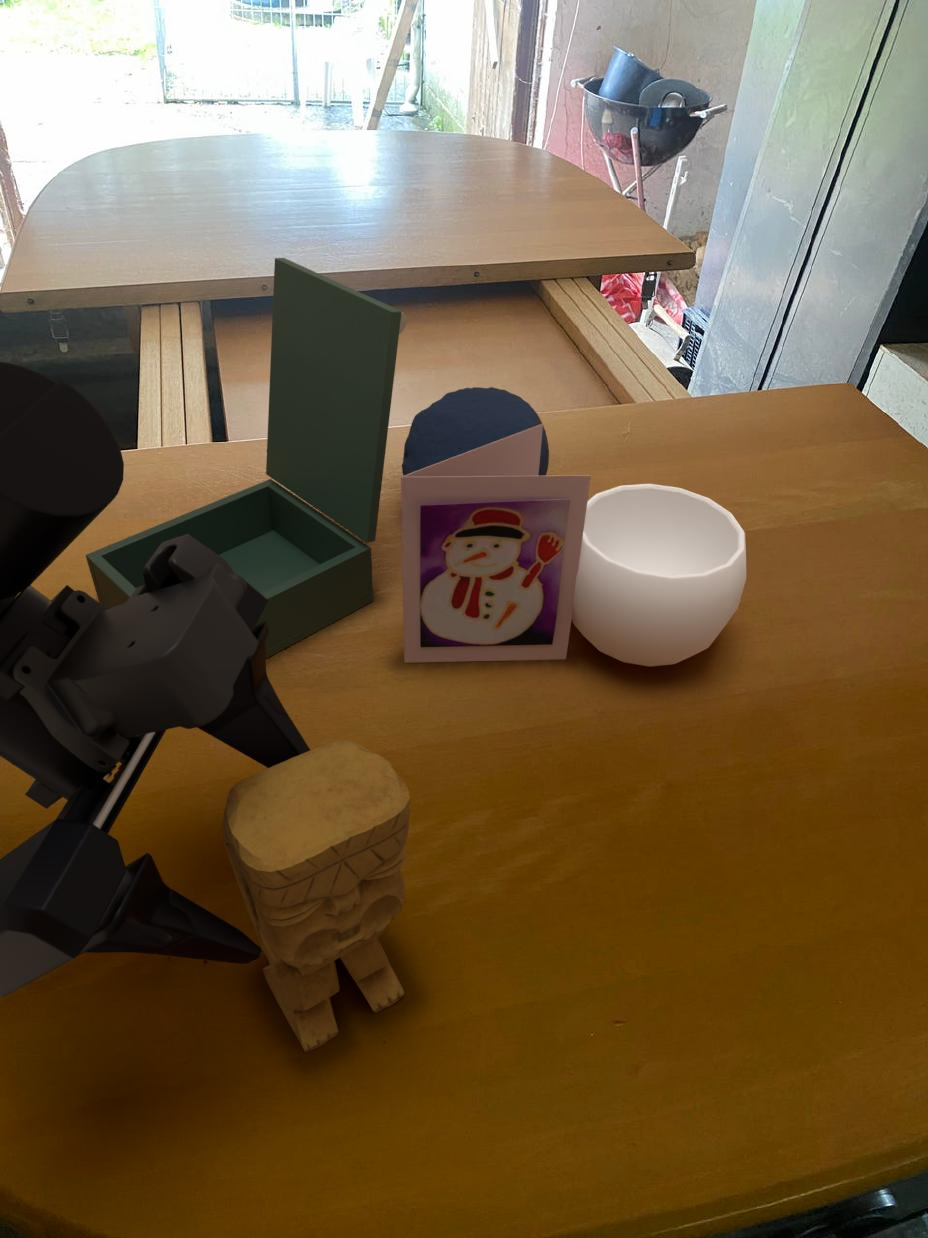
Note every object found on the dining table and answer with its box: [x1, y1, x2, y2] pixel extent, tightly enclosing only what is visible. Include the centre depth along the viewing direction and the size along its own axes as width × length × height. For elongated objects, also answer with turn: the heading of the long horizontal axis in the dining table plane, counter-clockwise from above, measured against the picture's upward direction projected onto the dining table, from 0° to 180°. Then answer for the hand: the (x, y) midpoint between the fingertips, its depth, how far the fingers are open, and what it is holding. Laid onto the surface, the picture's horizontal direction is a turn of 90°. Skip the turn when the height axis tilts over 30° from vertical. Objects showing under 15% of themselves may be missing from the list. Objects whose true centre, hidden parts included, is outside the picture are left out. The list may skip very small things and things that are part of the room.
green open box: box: [85, 478, 374, 659], centre depth 67 cm, size 16×13×5 cm
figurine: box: [222, 739, 411, 1054], centre depth 41 cm, size 7×6×15 cm
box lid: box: [265, 257, 407, 544], centre depth 66 cm, size 16×13×4 cm
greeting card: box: [400, 423, 592, 664], centre depth 62 cm, size 11×7×15 cm, turn 94°
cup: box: [571, 483, 747, 667], centre depth 64 cm, size 12×12×10 cm
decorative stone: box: [401, 386, 550, 476], centre depth 76 cm, size 12×12×10 cm
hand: (289, 862), depth 40 cm, fingers open, 9 cm apart
